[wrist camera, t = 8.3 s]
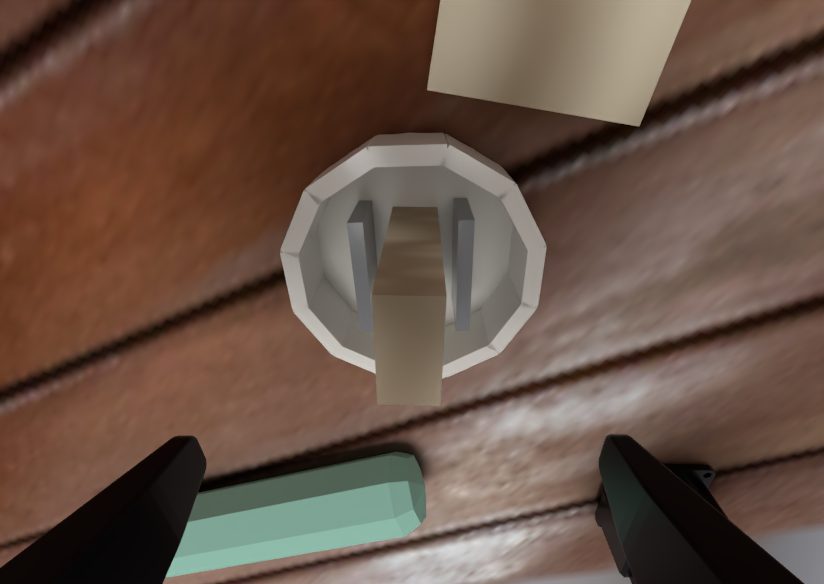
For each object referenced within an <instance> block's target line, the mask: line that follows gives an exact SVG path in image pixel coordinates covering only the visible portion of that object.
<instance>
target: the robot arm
mask: <svg viewBox="0 0 824 584" xmlns="http://www.w3.org/2000/svg"><path fill="white" fill-rule="evenodd" d="M205 470H206V458H205V456H204V453H203V451H202V449H201V447H200V445H199V442H198V440H197V438H196V437H194V436H175V437H173V438H171V439H170V440H169V441H167V442H166V443H165V444H163V445H162V446H161V447H159V448H158V449H157V450H155V451H154V452H153V453H151V454H150V455H149V456H147V457H146V458H145V459H144V460H142V461H141V462H140V463H138V464H137V465H136V466H134V467H133V468H132V469H130V470H129V471H128V472H126V473H125V474H124V475H122V476H121V477H120V478H118V479H117V480H116V481H114V482H113V483H112V484H111V485H109V486H108V487H107V488H105V489H104V490H103V491H101V492H100V493H99V494H97V495H96V496H95V497H93V498H92V499H91V500H89V501H88V502H87V503H85V504H84V505H83V506H81V507H80V508H79V509H77V510H76V511H75V512H74V513H72V514H71V515H70V516H68V517H67V518H66V519H64V520H63V521H62V522H60V523H59V524H58V525H56V526H55V527H54V528H52V529H51V530H50V531H48V532H47V533H46V534H44V535H43V536H42V537H41V538H39V539H38V540H37V541H35V542H34V543H33V544H31V545H30V546H29V547H27V548H26V549H25V550H23V551H22V552H21V553H19V554H18V555H17V556H15V557H14V558H13V559H11V560H10V561H9V562H7V563H6V564H5V565H4V566H2V567H1V568H0V584H163V581H164V579H165V577H166V575H167V572H168V570H169V568H170V566H171V563H172V561H173V559H174V557H175V554H176V552H177V550H178V547H179V545H180V543H181V540H182V537H183V535H184V532H185V529H186V526H187V523H188V520H189V517H190V514H191V511H192V509H193V506H194V503H195V500H196V497H197V494H198V491H199V488H200V485H201V482H202V479H203V476H204V473H205ZM599 470H600V474H601V477H602V481H603V484H604V488H605V491H604V492H603V494H602V497H601V500H600V503H599V506H598V509H597V512H596V517H595V520H596V522H597V525H598V526H600V527H602V529H603V532H604V535H605V537H606V540H607V542H608V545H609V547H610V550H611V552H612V555H613V557H614V560H615V562H616V565H617V568H618V570H619V573H620V574H621V575H622V576H624V577H629V578H630V580H631V583H632V584H804V583H803V582H802V581H801V580H799V579H798V578H797V577H796V576H795V575H793V574H792V573H791V572H790V571H789V570H788V569H786V568H785V567H784V566H783V565H782V564H780V563H779V562H778V561H777V560H776V559H774V558H773V557H772V556H771V555H770V554H769V553H767V552H766V551H765V550H764V549H763V548H762V547H760V546H759V545H758V544H757V543H756V542H754V541H753V540H752V539H751V538H750V537H749V536H747V535H746V534H745V533H744V532H743V531H741V530H740V529H739V528H738V527H737V526H736V525H734V524H733V523H732V522H731V521H730V520H729V519H728V518H727V516H726V515H725V513H724V512H723V510H722V509H721V507H720V506H719V504H718V503H717V501H716V500H715V499H714V497H713V496H712V494H711V493H710V491H709V490H708V488H709V486H710V484H711V482H712V480H713V479H714V477H715V474H716V473H715V471H714V470H713V469H712V467H711V466H709V465H663V464H662V463H661V462H660V461H659V460H658V459H656V458H655V457H654V456H653V455H652V454H650V453H649V452H648V451H647V450H646V449H644V448H643V447H642V446H641V445H640V444H639V443H637V442H636V441H635V440H634V439H633V438H631V437H630V436H628V435H624V434H610V435H608V436H607V437H606V438H605V441H604V444H603V447H602V450H601V454H600V457H599Z"/></svg>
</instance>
